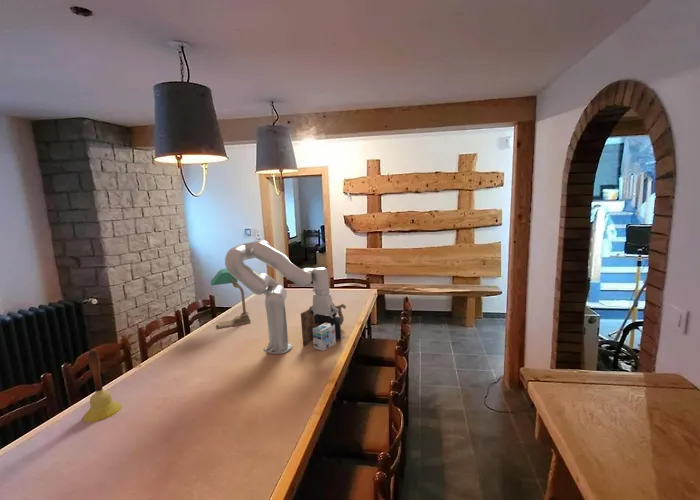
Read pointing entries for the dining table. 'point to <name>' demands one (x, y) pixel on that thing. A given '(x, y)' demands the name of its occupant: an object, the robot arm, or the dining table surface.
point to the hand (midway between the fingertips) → (325, 323)
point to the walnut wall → (307, 326)
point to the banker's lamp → (226, 278)
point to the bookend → (326, 319)
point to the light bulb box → (324, 336)
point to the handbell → (99, 394)
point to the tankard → (340, 312)
